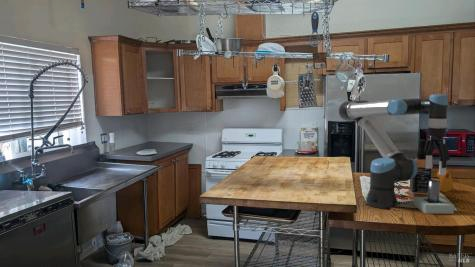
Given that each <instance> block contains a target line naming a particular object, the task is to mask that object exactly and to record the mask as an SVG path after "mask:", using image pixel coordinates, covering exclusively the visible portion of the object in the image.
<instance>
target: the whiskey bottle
mask: <svg viewBox="0 0 475 267" xmlns="http://www.w3.org/2000/svg"><path fill="white" fill-rule="evenodd" d="M426 142H427V139H418V143H417V144H418V145H417V146H418V148H417V151H416V158H414V159H413V158H412V159H413V160H414V161H415V162H416V164H417V174H416V176H415V177H414V178H413V179H411V180H409V188H408V197H410V198H411V199H414V197H427V196H428V180H431V179H432V174H433V173H432V172H433V170H432V169H433V168H434V167H433V166H434V164H433V163H432V169H426V168H425V166H426V155H425V153H424V149H425V145H426Z"/></svg>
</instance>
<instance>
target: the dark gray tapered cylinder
mask: <svg viewBox="0 0 475 267" xmlns="http://www.w3.org/2000/svg"><path fill="white" fill-rule="evenodd" d="M440 192H441V191H440V181H439V179H432V178H431V180H428V196H427V202H428V203H439V197H440Z"/></svg>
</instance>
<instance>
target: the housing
mask: <svg viewBox="0 0 475 267" xmlns="http://www.w3.org/2000/svg"><path fill="white" fill-rule="evenodd" d="M412 199H413V198H412ZM412 202H413V203H412V205H413V206H414V207H416V208H417V209H419V211H421V212H422V213H424V214H427V215H428V214H440V215H441V214H443V215H444V214H446V215H447V214H455V205H454V204H453V203H452V202H449V201H447V200H446V199H445V198H443V197H441V196H439V203H428V202H427V197H414V199H413V201H412Z"/></svg>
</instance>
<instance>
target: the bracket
mask: <svg viewBox="0 0 475 267" xmlns="http://www.w3.org/2000/svg"><path fill="white" fill-rule="evenodd" d="M436 177H437V178H438V180H439V181H440V192H442V193H445V192H450V191H451V190H454V184H453V183H454V182H453V178H452V174H451V171H450V170H446V175H439V170H438V171H437V173H436Z"/></svg>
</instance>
